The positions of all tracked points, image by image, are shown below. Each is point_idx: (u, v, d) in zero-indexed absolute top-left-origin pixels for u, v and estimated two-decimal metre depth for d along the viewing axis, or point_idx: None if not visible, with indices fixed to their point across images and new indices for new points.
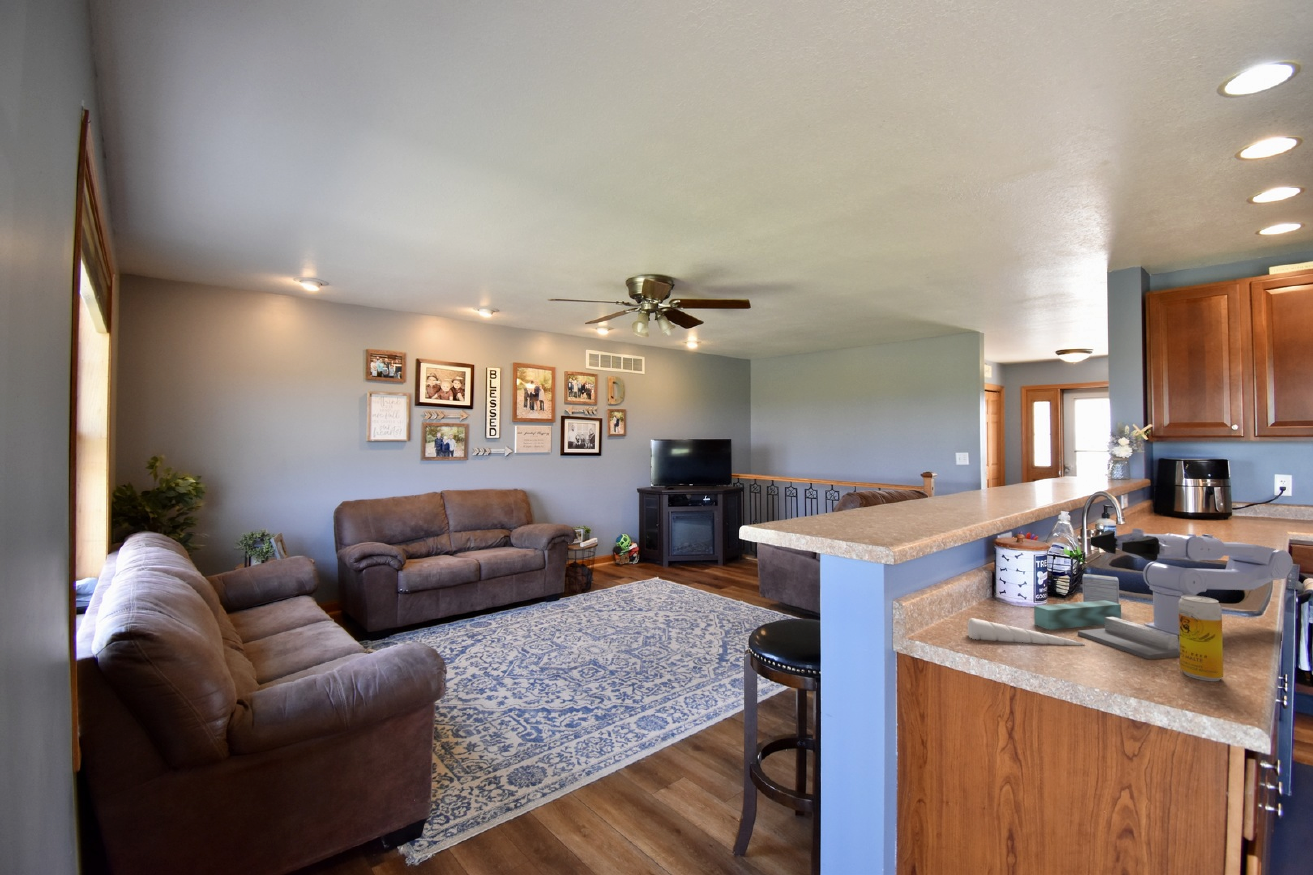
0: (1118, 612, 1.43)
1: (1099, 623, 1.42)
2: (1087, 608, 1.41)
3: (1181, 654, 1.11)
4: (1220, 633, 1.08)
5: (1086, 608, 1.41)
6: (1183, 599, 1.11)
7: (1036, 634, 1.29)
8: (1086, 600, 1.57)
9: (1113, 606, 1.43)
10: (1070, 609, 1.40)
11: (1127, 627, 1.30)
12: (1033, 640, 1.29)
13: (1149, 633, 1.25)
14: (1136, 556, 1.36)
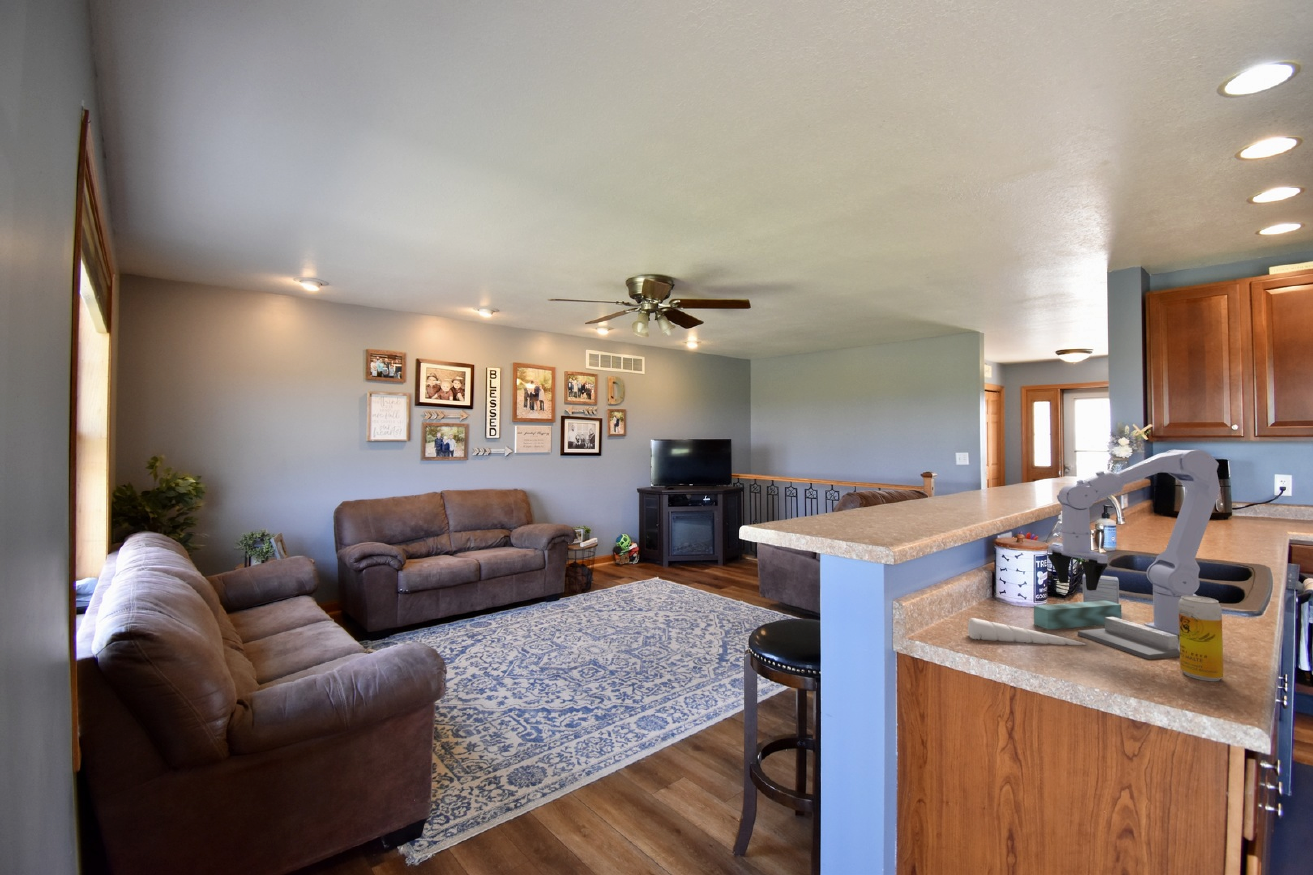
0: (1118, 612, 1.43)
1: (1099, 623, 1.42)
2: (1087, 608, 1.41)
3: (1181, 654, 1.11)
4: (1220, 633, 1.08)
5: (1086, 608, 1.41)
6: (1183, 599, 1.11)
7: (1037, 634, 1.29)
8: (1086, 600, 1.57)
9: (1113, 606, 1.43)
10: (1070, 609, 1.40)
11: (1127, 627, 1.30)
12: (1034, 640, 1.29)
13: (1149, 633, 1.25)
14: None
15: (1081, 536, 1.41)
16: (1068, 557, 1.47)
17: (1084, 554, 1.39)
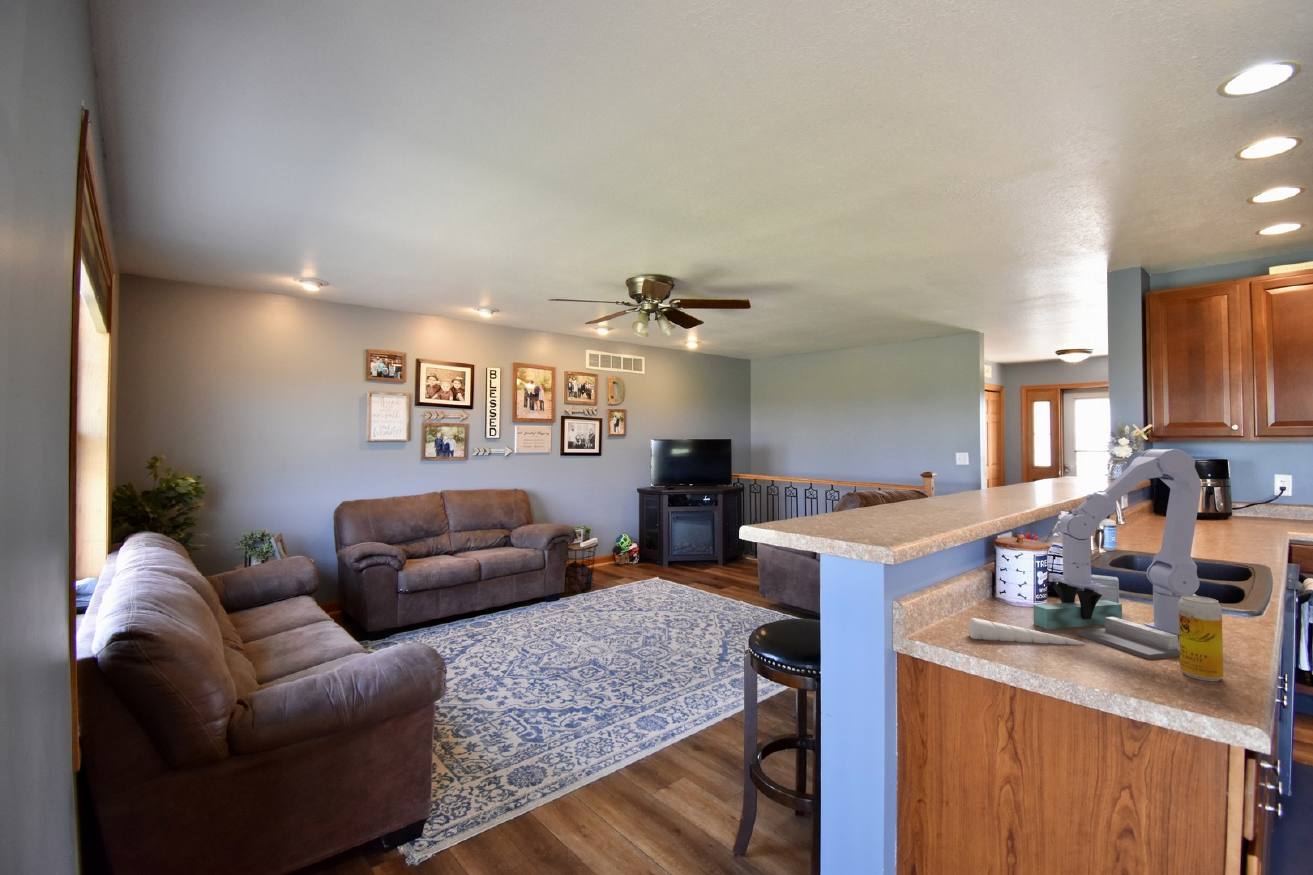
0: (1119, 612, 1.43)
1: (1099, 623, 1.42)
2: None
3: (1181, 654, 1.11)
4: (1220, 633, 1.08)
5: None
6: (1183, 599, 1.11)
7: (1037, 633, 1.30)
8: None
9: (1114, 606, 1.43)
10: (1069, 608, 1.40)
11: (1127, 627, 1.30)
12: (1034, 639, 1.29)
13: (1149, 633, 1.25)
14: None
15: (1082, 566, 1.41)
16: (1074, 587, 1.46)
17: (1085, 585, 1.39)
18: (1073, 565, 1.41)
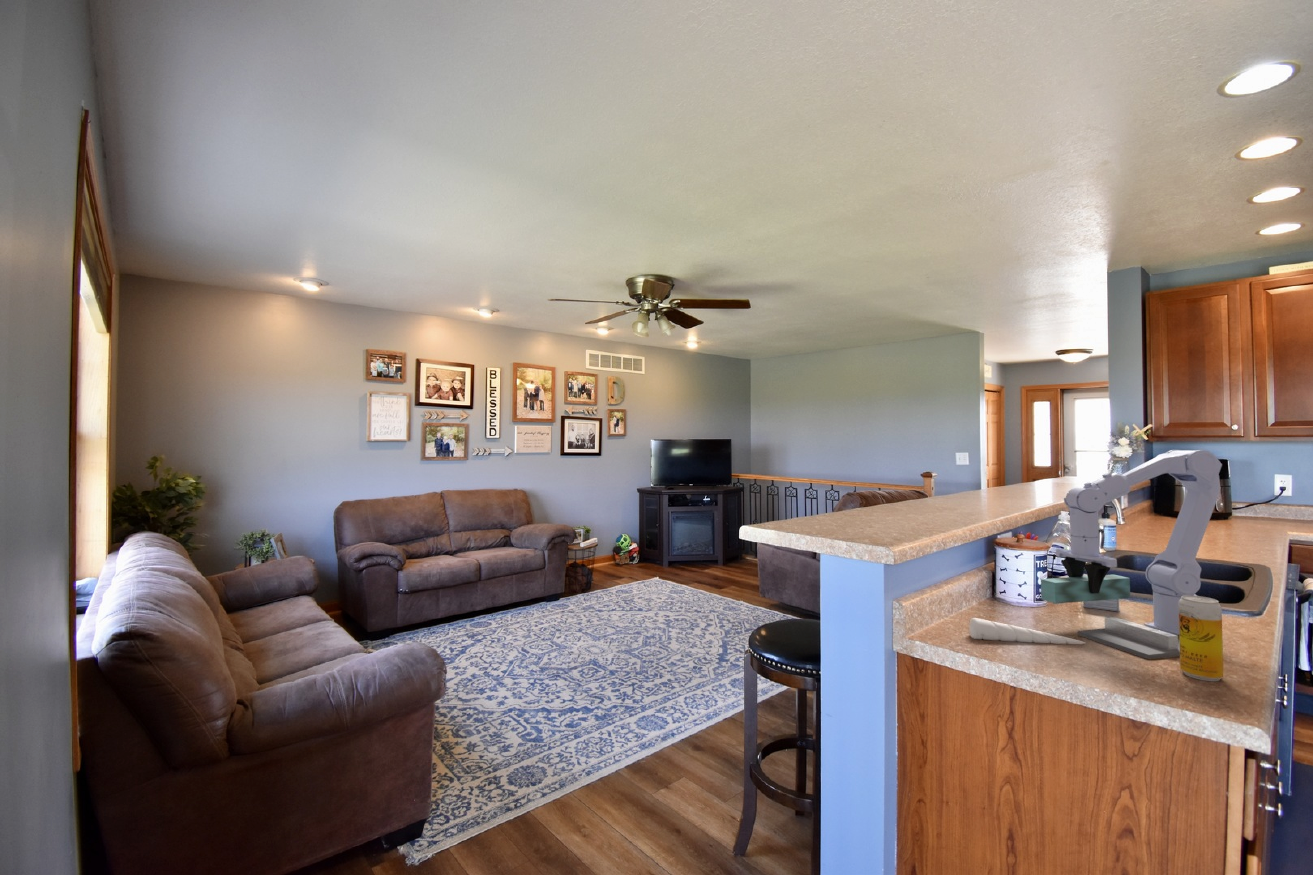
0: (1127, 586, 1.41)
1: (1107, 597, 1.40)
2: None
3: (1181, 654, 1.11)
4: (1220, 633, 1.08)
5: None
6: (1183, 599, 1.11)
7: (1038, 633, 1.30)
8: None
9: (1122, 580, 1.41)
10: (1077, 582, 1.38)
11: (1127, 627, 1.30)
12: (1035, 639, 1.29)
13: (1149, 633, 1.25)
14: None
15: (1089, 540, 1.38)
16: (1082, 562, 1.44)
17: (1093, 558, 1.37)
18: (1081, 539, 1.39)
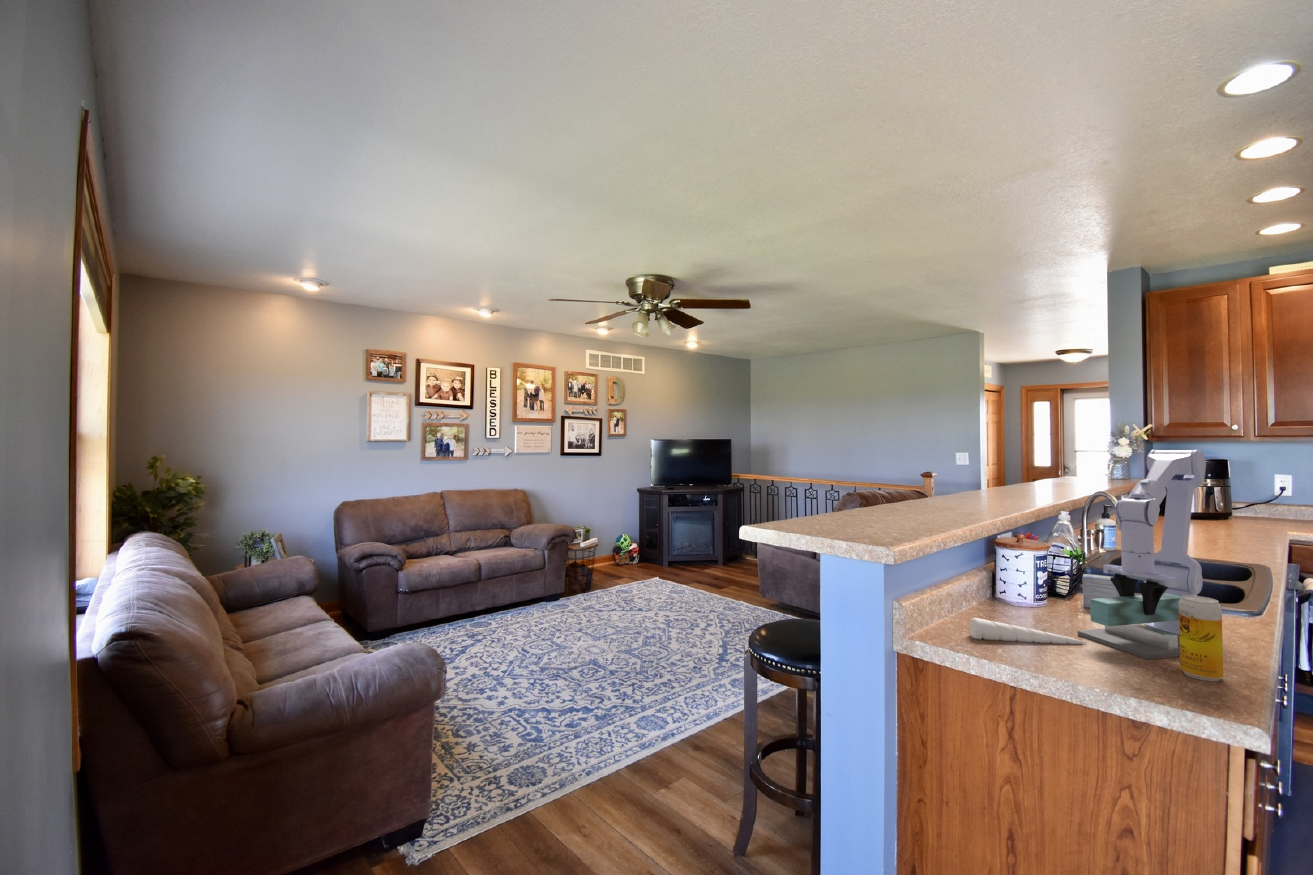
0: None
1: (1163, 618, 1.27)
2: None
3: (1181, 654, 1.11)
4: (1220, 633, 1.08)
5: None
6: (1183, 599, 1.11)
7: (1038, 633, 1.30)
8: (1086, 600, 1.57)
9: (1178, 599, 1.28)
10: (1131, 602, 1.26)
11: (1127, 627, 1.30)
12: (1035, 639, 1.29)
13: (1149, 633, 1.25)
14: None
15: (1144, 556, 1.26)
16: (1134, 580, 1.31)
17: (1148, 576, 1.24)
18: (1134, 555, 1.27)
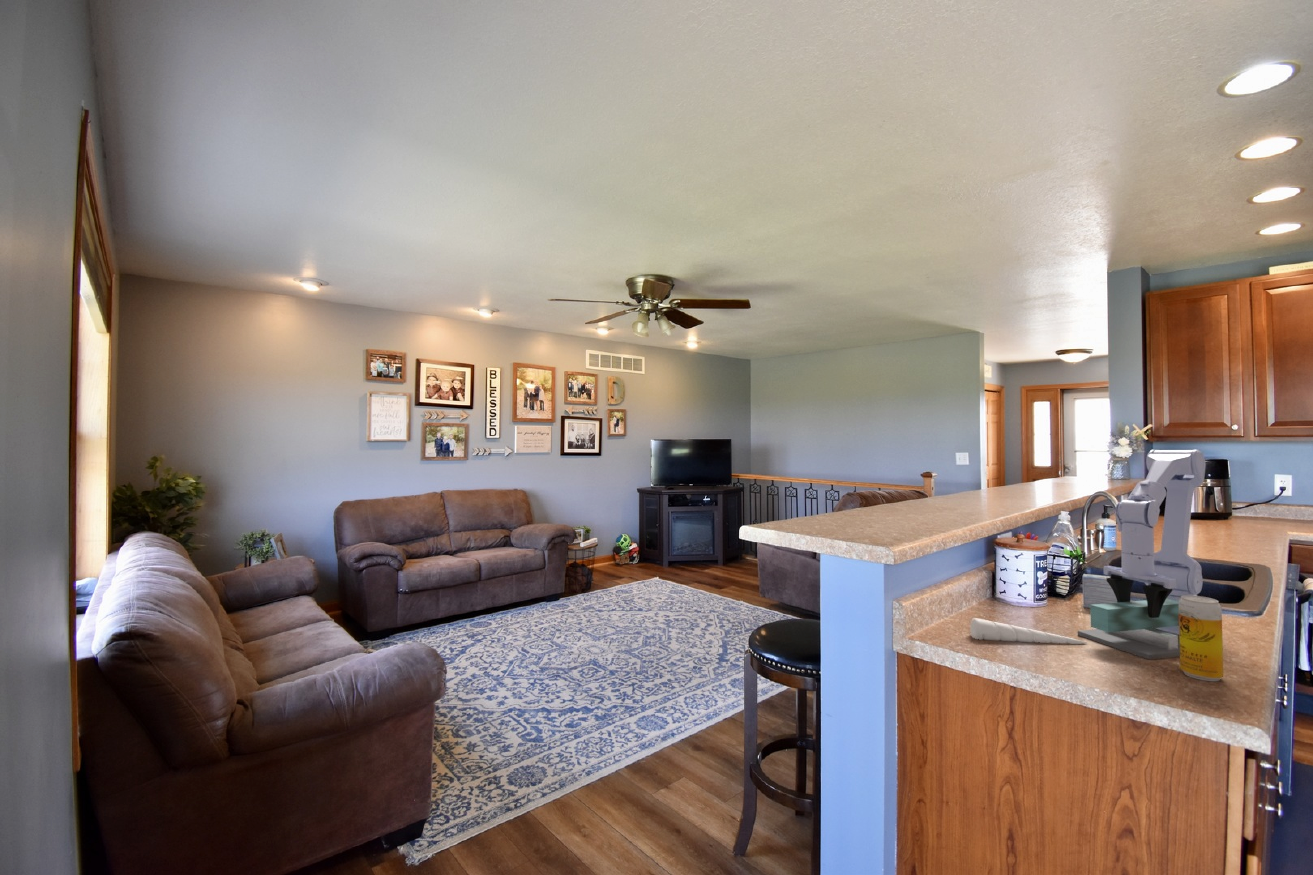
0: None
1: (1163, 624, 1.27)
2: None
3: (1181, 654, 1.11)
4: (1220, 633, 1.08)
5: None
6: (1183, 599, 1.11)
7: (1039, 633, 1.30)
8: (1086, 600, 1.57)
9: (1178, 605, 1.28)
10: (1132, 608, 1.26)
11: None
12: (1036, 639, 1.29)
13: (1149, 633, 1.25)
14: None
15: (1144, 557, 1.26)
16: (1130, 580, 1.32)
17: (1149, 578, 1.24)
18: (1134, 556, 1.27)
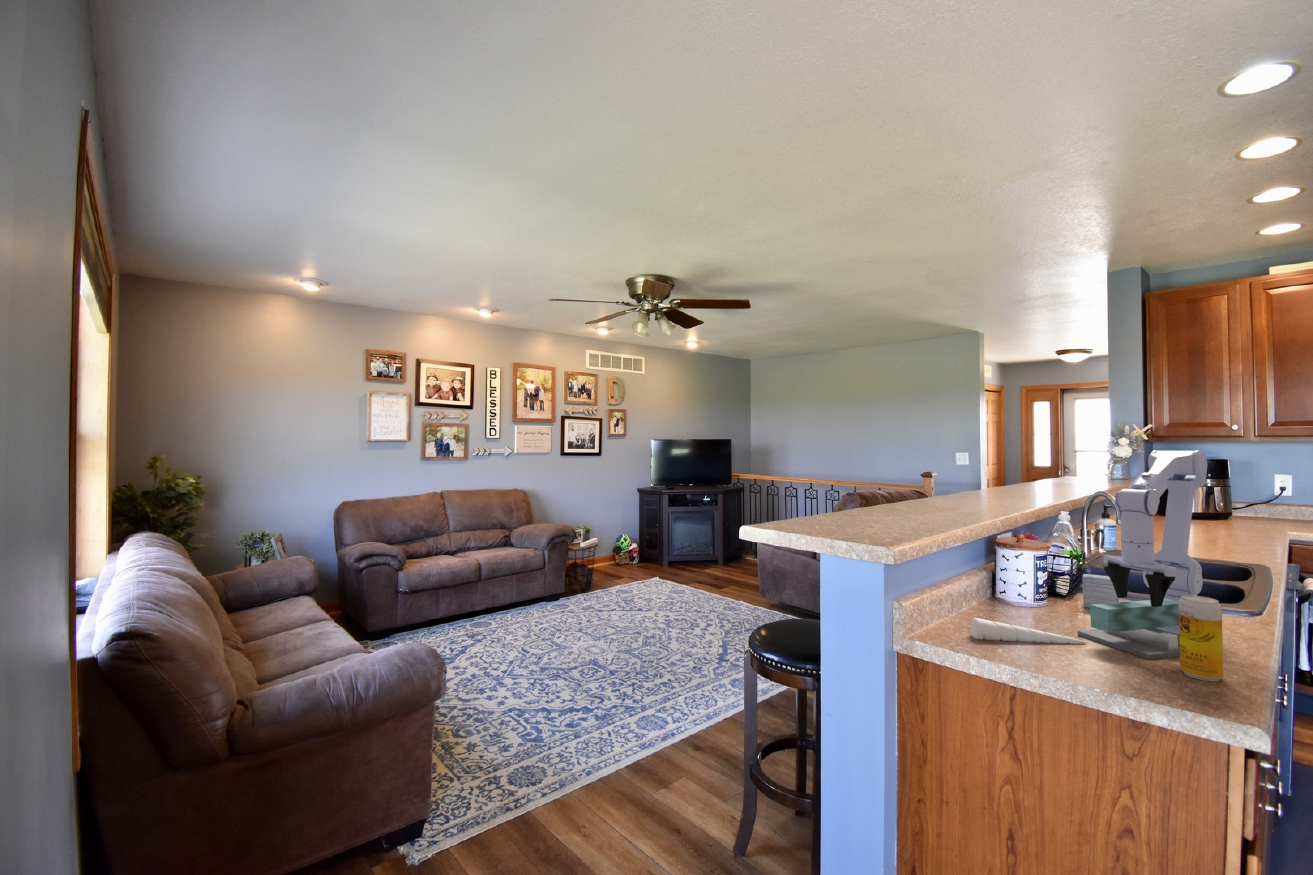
0: None
1: (1163, 624, 1.27)
2: (1150, 607, 1.27)
3: (1181, 654, 1.11)
4: (1220, 633, 1.08)
5: (1149, 607, 1.27)
6: (1183, 599, 1.11)
7: (1039, 633, 1.30)
8: (1086, 600, 1.57)
9: (1178, 605, 1.28)
10: (1132, 608, 1.26)
11: None
12: (1036, 639, 1.30)
13: (1149, 633, 1.25)
14: None
15: (1144, 546, 1.26)
16: (1127, 569, 1.33)
17: (1148, 566, 1.25)
18: (1134, 545, 1.27)
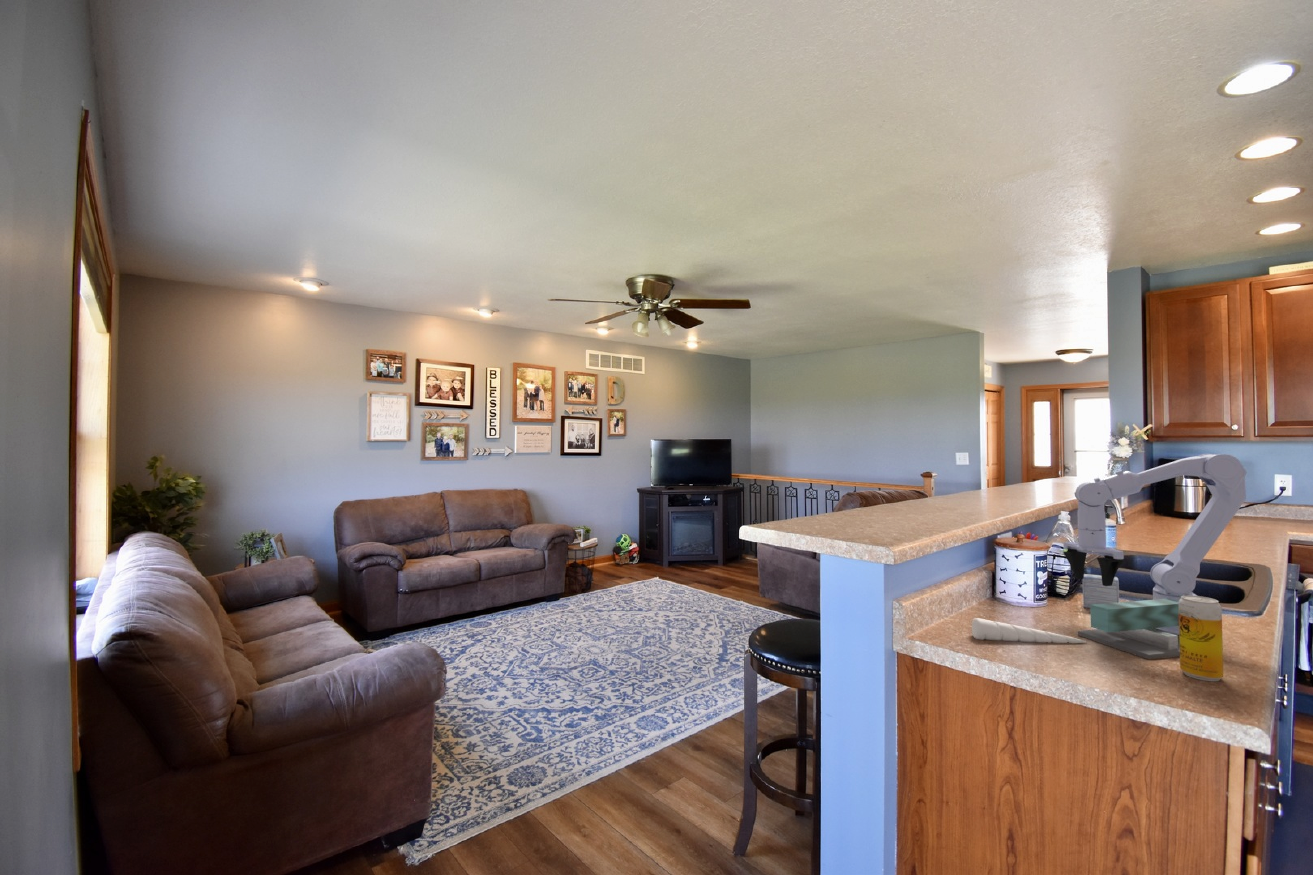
0: None
1: (1163, 624, 1.27)
2: (1150, 607, 1.27)
3: (1181, 654, 1.11)
4: (1220, 633, 1.08)
5: (1149, 607, 1.27)
6: (1183, 599, 1.11)
7: (1040, 633, 1.30)
8: (1086, 600, 1.57)
9: (1178, 605, 1.28)
10: (1132, 608, 1.26)
11: None
12: (1037, 639, 1.30)
13: (1149, 633, 1.25)
14: None
15: (1097, 532, 1.43)
16: (1083, 553, 1.49)
17: (1100, 550, 1.41)
18: (1088, 532, 1.44)
